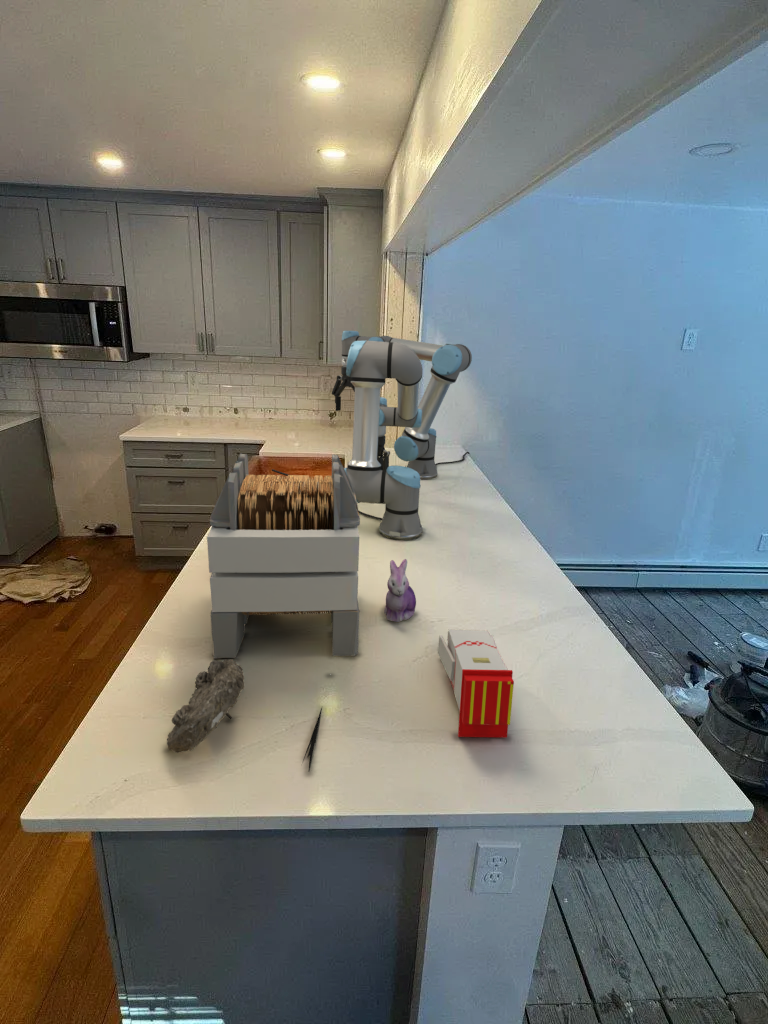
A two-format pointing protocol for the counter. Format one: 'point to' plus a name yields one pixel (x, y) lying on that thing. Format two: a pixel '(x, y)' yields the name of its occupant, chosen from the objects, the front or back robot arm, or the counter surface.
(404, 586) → the figurine
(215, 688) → the fossil
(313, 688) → the counter surface
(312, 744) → the feather
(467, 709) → the toy
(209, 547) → the record crate stand
